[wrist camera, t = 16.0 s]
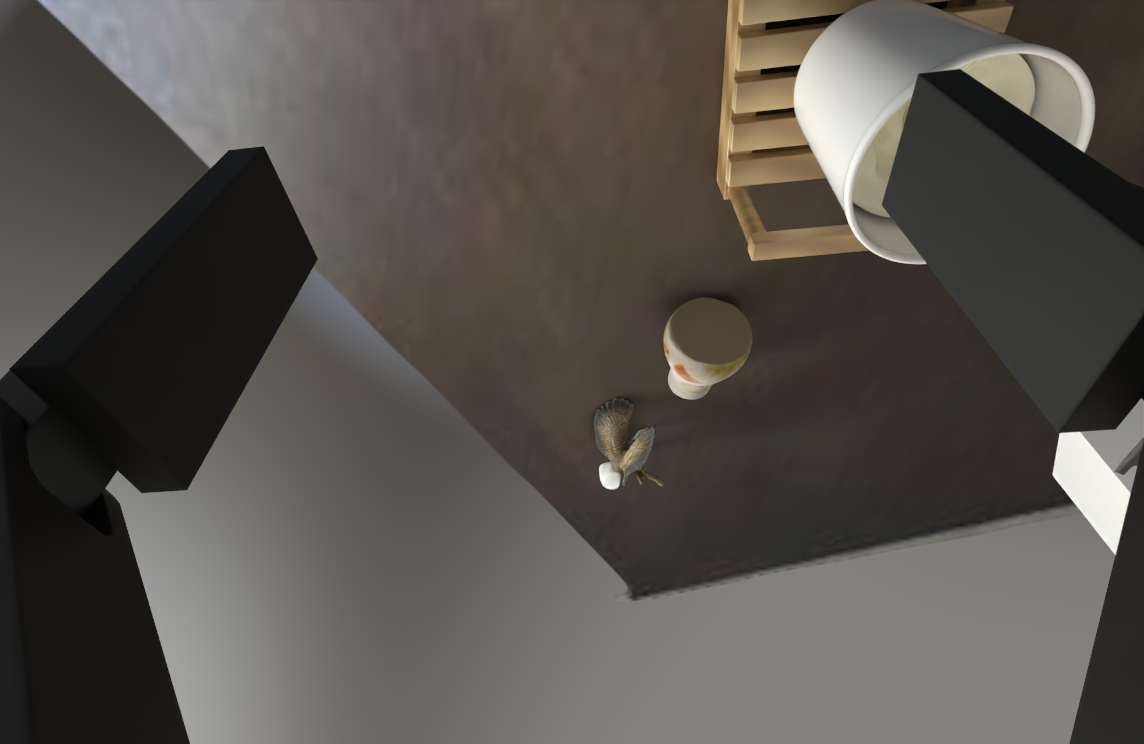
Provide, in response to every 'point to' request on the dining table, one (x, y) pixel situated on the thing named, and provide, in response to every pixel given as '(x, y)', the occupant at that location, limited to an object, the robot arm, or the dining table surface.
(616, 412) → the eagle figurine
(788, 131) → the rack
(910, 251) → the candle holder
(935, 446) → the dining table surface
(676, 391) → the mug
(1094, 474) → the milk
